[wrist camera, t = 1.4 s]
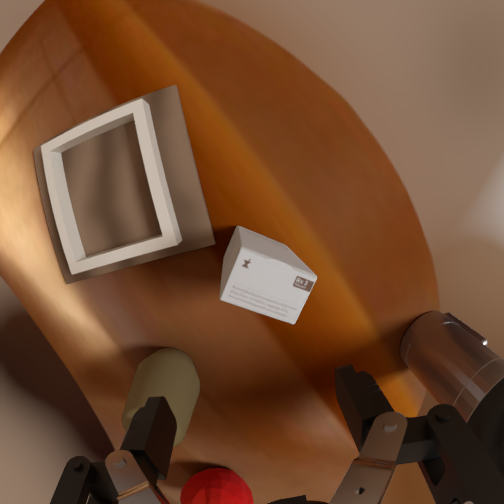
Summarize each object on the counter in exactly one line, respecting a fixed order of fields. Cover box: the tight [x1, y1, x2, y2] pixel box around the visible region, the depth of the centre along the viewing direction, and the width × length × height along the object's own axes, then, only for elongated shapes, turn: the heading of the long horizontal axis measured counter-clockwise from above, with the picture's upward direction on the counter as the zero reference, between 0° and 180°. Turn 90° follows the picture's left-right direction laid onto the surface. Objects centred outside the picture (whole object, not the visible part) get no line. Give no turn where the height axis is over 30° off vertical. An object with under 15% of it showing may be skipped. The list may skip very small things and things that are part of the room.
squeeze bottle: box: [122, 348, 200, 447], centre depth 26 cm, size 8×8×18 cm
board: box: [33, 85, 216, 284], centre depth 29 cm, size 20×18×1 cm
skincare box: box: [220, 226, 317, 324], centre depth 26 cm, size 6×4×12 cm
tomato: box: [180, 468, 254, 504], centre depth 34 cm, size 12×12×13 cm
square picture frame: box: [41, 99, 182, 275], centre depth 27 cm, size 13×15×2 cm
